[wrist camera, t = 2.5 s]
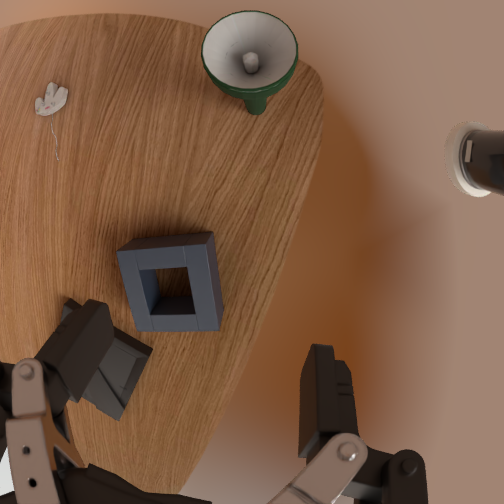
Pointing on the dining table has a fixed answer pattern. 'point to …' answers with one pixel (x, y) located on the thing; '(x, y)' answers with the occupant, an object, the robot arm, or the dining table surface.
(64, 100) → the game controller
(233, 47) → the flashlight
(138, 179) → the dining table surface
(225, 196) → the dining table surface
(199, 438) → the dining table surface
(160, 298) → the hollow square frame
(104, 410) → the picture frame
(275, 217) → the dining table surface
